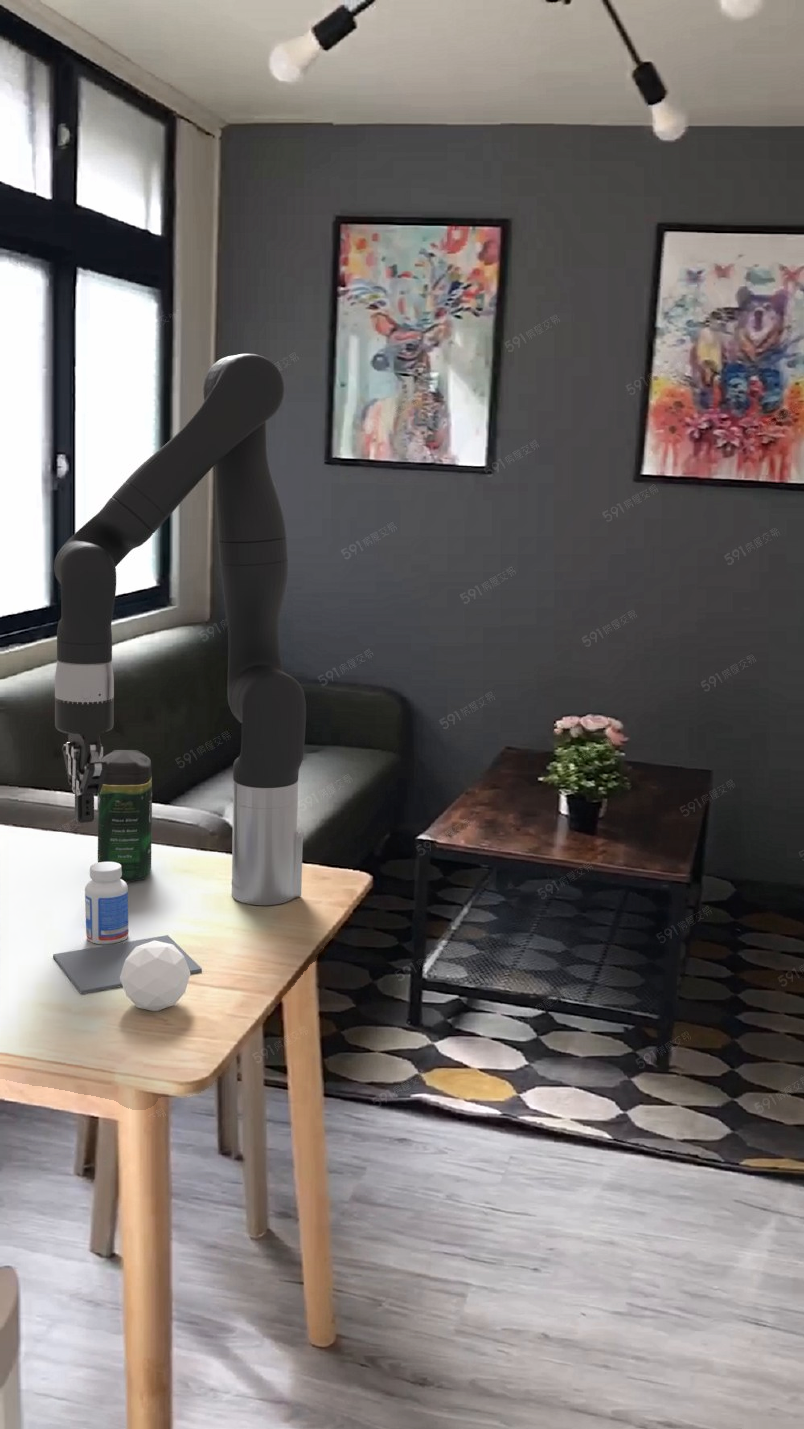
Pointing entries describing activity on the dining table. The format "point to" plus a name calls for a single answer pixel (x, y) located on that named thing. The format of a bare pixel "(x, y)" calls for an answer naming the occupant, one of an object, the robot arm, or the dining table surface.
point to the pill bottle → (106, 904)
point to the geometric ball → (155, 975)
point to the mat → (106, 964)
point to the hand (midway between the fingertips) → (84, 820)
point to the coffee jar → (126, 813)
